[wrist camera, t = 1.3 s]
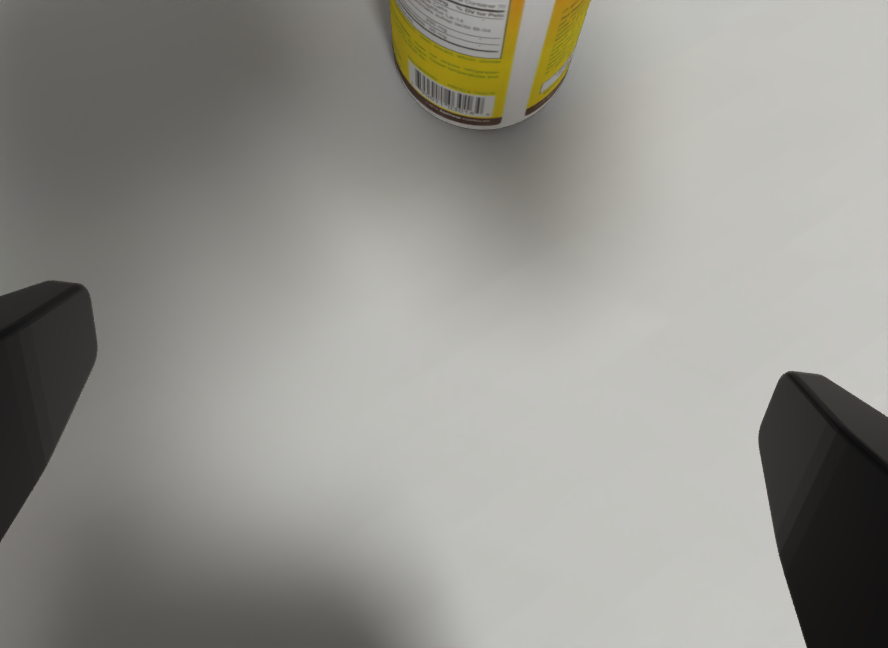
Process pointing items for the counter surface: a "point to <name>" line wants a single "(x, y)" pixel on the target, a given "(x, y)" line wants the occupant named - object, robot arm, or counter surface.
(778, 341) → the counter surface
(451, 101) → the supplement bottle
